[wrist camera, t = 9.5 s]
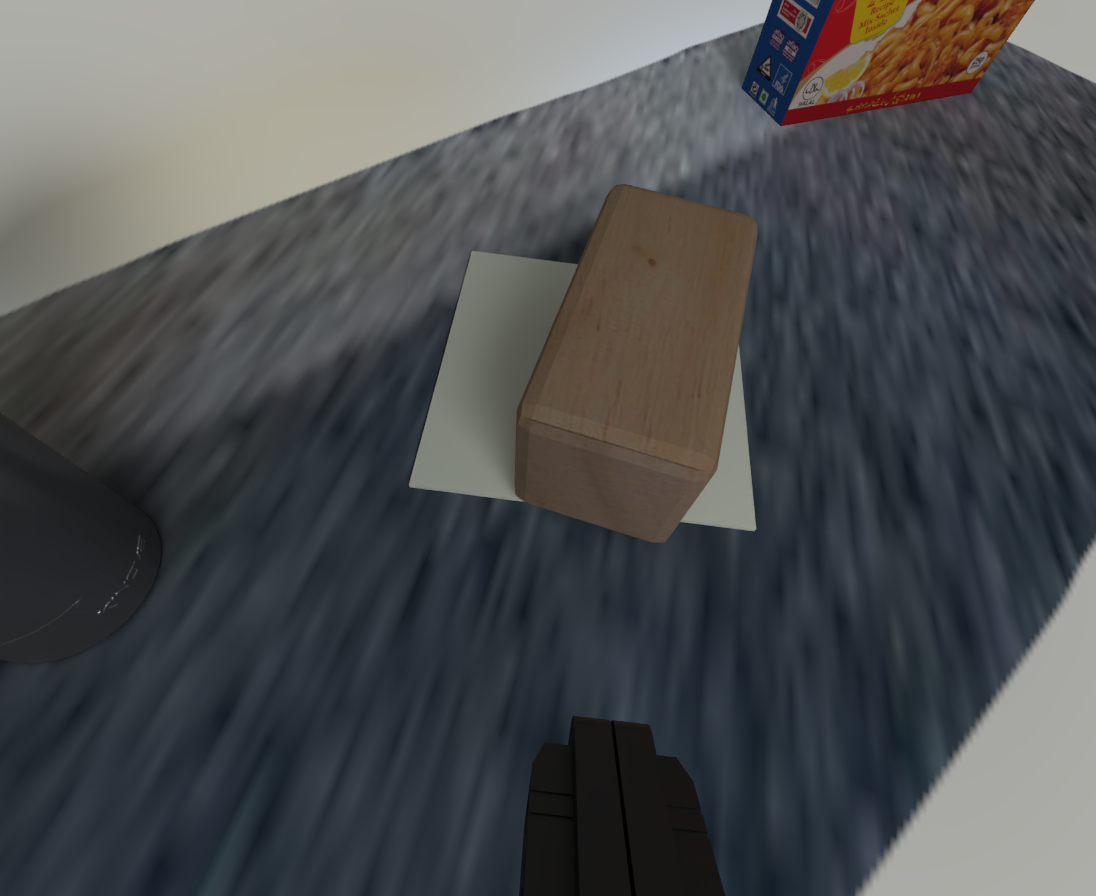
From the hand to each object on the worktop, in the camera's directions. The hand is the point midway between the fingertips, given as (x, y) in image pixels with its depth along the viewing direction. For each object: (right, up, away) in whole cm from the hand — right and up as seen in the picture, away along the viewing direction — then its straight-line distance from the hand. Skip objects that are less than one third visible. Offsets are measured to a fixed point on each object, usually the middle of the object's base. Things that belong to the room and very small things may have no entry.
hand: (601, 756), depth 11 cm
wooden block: (+2, +3, +18) cm, 19 cm away
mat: (+2, +12, +29) cm, 31 cm away
